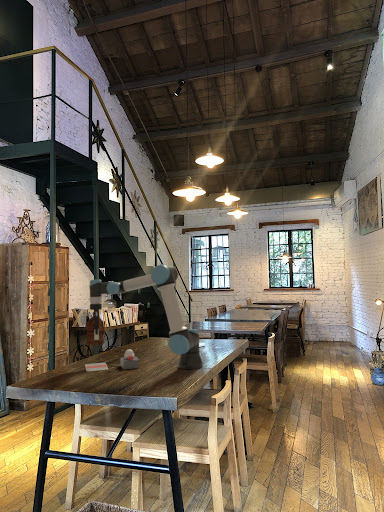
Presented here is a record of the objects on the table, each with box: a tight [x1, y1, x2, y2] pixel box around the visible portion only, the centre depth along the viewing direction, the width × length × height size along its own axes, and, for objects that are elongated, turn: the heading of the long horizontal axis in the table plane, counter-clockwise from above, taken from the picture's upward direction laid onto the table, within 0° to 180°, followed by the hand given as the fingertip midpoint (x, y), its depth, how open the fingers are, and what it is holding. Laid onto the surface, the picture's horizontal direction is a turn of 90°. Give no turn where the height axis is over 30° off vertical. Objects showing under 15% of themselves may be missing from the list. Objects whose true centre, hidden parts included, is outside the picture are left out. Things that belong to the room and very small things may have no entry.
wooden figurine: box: [85, 316, 105, 346], centre depth 243 cm, size 12×6×18 cm, turn 148°
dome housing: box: [120, 356, 140, 370], centre depth 239 cm, size 12×10×7 cm
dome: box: [123, 348, 135, 359], centre depth 241 cm, size 6×6×5 cm
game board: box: [84, 362, 109, 372], centre depth 241 cm, size 22×13×1 cm, turn 18°
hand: (96, 338), depth 243 cm, fingers closed on wooden figurine, 9 cm apart
